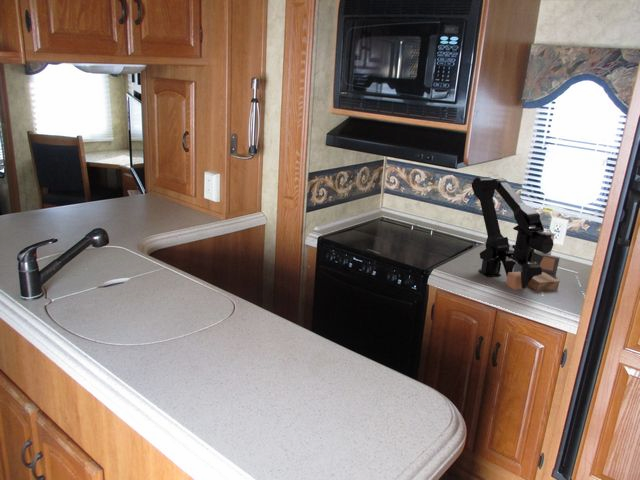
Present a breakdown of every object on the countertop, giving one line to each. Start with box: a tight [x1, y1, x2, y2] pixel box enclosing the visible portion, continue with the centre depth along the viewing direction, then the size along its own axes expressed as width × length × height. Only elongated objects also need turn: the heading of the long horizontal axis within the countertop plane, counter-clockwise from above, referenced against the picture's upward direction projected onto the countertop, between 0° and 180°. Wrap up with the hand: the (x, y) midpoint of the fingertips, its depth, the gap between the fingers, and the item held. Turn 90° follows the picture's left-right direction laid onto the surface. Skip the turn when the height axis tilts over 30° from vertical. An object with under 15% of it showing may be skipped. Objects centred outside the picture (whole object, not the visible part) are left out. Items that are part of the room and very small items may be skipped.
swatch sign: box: [536, 254, 560, 279], centre depth 221 cm, size 8×5×8 cm, turn 66°
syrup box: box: [533, 227, 556, 264], centre depth 232 cm, size 6×6×14 cm
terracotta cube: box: [505, 272, 524, 290], centre depth 207 cm, size 5×5×5 cm
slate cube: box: [513, 262, 531, 272], centre depth 219 cm, size 5×5×5 cm
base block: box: [527, 272, 560, 293], centre depth 209 cm, size 9×9×4 cm
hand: (516, 283), depth 208 cm, fingers open, 9 cm apart
